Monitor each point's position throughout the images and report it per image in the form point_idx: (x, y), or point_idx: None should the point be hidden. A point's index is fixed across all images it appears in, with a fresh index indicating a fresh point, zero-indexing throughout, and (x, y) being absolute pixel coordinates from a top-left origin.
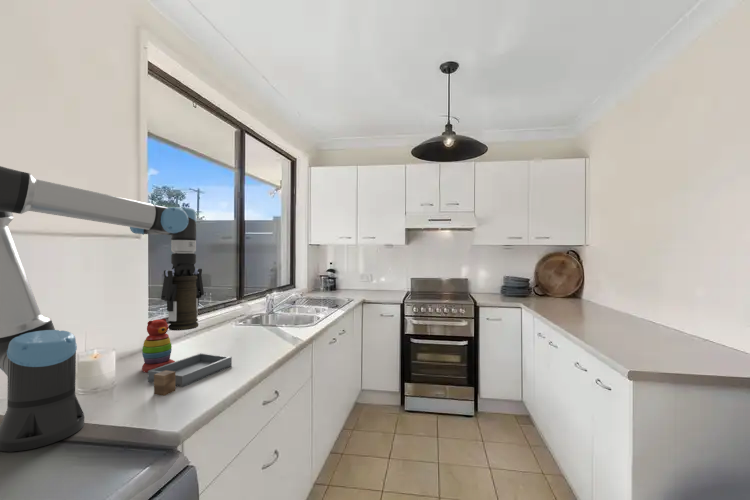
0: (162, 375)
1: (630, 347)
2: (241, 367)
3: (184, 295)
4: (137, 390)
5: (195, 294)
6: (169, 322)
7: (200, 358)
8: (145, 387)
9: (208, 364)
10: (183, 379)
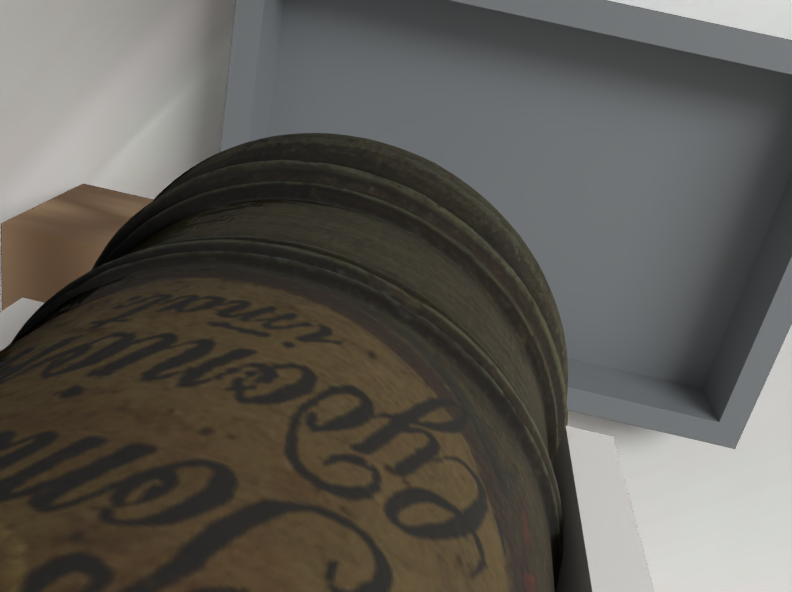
0: (5, 304)
1: None
2: (679, 485)
3: None
4: (99, 6)
5: None
6: (98, 263)
7: None
8: (162, 21)
9: (705, 227)
10: None
